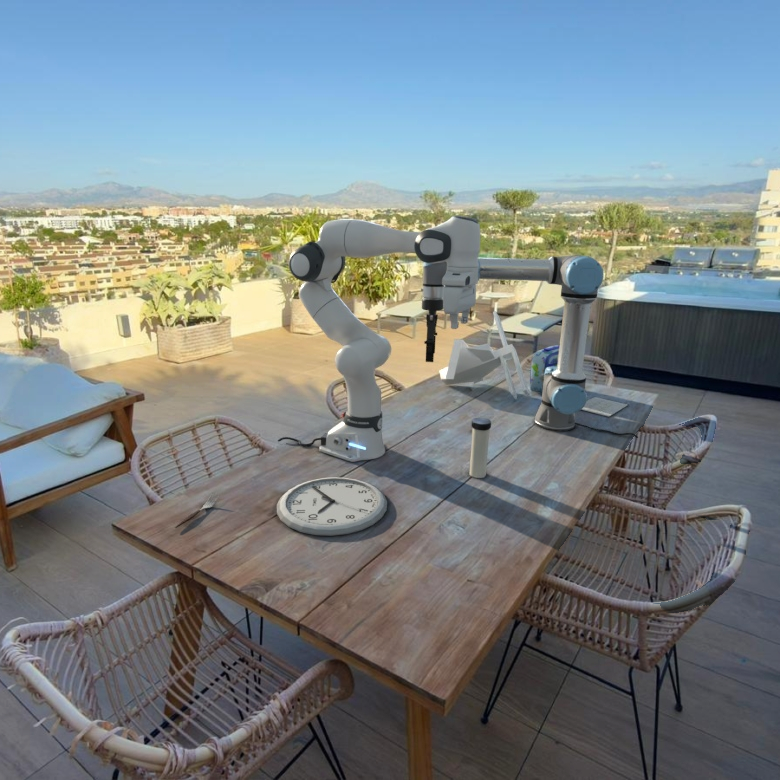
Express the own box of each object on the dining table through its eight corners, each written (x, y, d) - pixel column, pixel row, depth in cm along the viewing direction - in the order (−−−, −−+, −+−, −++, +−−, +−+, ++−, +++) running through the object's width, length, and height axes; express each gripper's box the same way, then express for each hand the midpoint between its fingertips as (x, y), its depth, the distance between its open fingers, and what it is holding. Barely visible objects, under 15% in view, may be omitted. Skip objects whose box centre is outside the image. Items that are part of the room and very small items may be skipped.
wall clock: (392, 527, 129) (268, 531, 127) (391, 533, 130) (269, 537, 127) (383, 473, 158) (282, 475, 155) (383, 478, 158) (282, 480, 156)
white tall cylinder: (482, 470, 165) (486, 418, 160) (488, 477, 160) (492, 424, 155) (467, 471, 164) (470, 419, 159) (472, 478, 159) (476, 425, 154)
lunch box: (546, 398, 236) (551, 353, 229) (525, 393, 243) (529, 349, 237) (573, 387, 253) (579, 344, 247) (553, 382, 260) (558, 341, 254)
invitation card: (608, 416, 214) (573, 407, 224) (608, 416, 214) (573, 408, 224) (628, 404, 229) (594, 396, 238) (628, 405, 229) (594, 397, 238)
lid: (486, 423, 161) (486, 417, 160) (493, 429, 155) (494, 423, 155) (468, 424, 160) (469, 418, 159) (475, 431, 154) (476, 424, 154)
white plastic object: (461, 429, 252) (437, 405, 227) (444, 352, 274) (420, 323, 250) (535, 404, 240) (518, 377, 215) (510, 326, 262) (492, 293, 237)
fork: (171, 528, 130) (170, 521, 130) (212, 499, 145) (211, 492, 144) (179, 530, 129) (178, 523, 129) (220, 500, 144) (219, 494, 143)
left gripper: (461, 273, 157) (459, 319, 161) (439, 279, 139) (437, 330, 143) (482, 274, 154) (479, 321, 158) (462, 280, 136) (459, 332, 140)
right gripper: (424, 293, 195) (422, 349, 202) (419, 302, 172) (417, 365, 178) (444, 294, 195) (441, 350, 201) (442, 303, 171) (439, 366, 177)
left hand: (459, 325), depth 150 cm, fingers open, 8 cm apart
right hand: (430, 357), depth 190 cm, fingers open, 13 cm apart
